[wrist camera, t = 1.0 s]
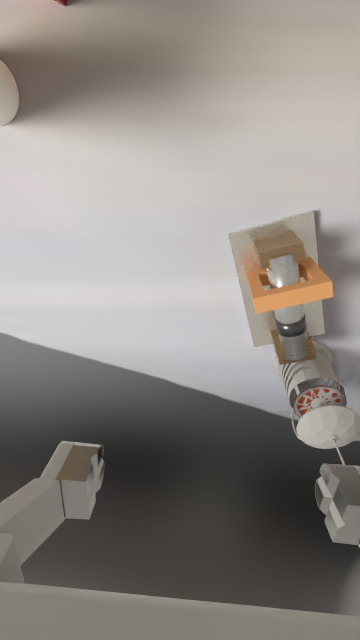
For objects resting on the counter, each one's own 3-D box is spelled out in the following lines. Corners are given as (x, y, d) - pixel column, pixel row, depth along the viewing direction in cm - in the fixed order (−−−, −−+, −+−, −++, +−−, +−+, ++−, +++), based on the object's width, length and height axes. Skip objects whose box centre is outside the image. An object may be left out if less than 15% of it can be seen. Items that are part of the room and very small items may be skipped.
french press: (343, 346, 48) (450, 508, 26) (313, 397, 53) (379, 562, 32) (285, 333, 47) (344, 483, 26) (260, 384, 53) (292, 543, 32)
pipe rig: (312, 210, 38) (333, 223, 31) (323, 331, 46) (341, 361, 40) (228, 234, 41) (231, 250, 34) (253, 344, 49) (259, 375, 42)
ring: (310, 256, 39) (332, 281, 32) (311, 270, 40) (333, 297, 33) (246, 272, 41) (252, 298, 34) (248, 285, 42) (255, 313, 35)
